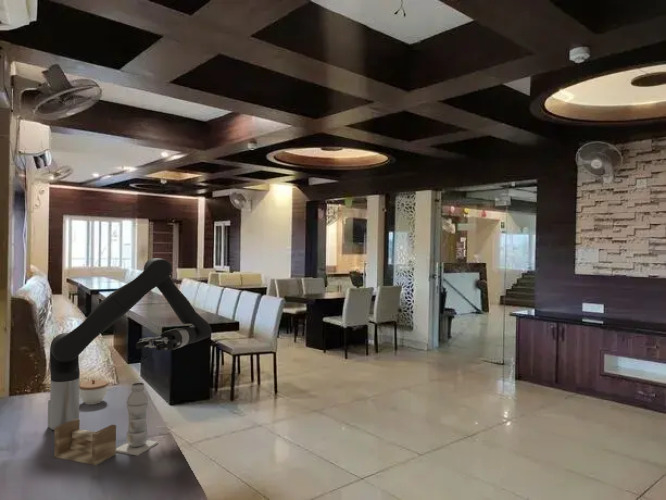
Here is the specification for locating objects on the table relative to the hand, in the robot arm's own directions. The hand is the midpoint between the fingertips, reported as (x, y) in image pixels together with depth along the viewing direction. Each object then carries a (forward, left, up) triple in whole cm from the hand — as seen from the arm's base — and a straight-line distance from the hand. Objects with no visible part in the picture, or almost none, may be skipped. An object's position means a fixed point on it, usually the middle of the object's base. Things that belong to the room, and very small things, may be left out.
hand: (146, 346), depth 173 cm
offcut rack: (-4, -23, -30) cm, 38 cm away
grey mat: (+7, -13, -30) cm, 33 cm away
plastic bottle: (+7, -12, -30) cm, 33 cm away
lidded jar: (-41, +19, -30) cm, 54 cm away
